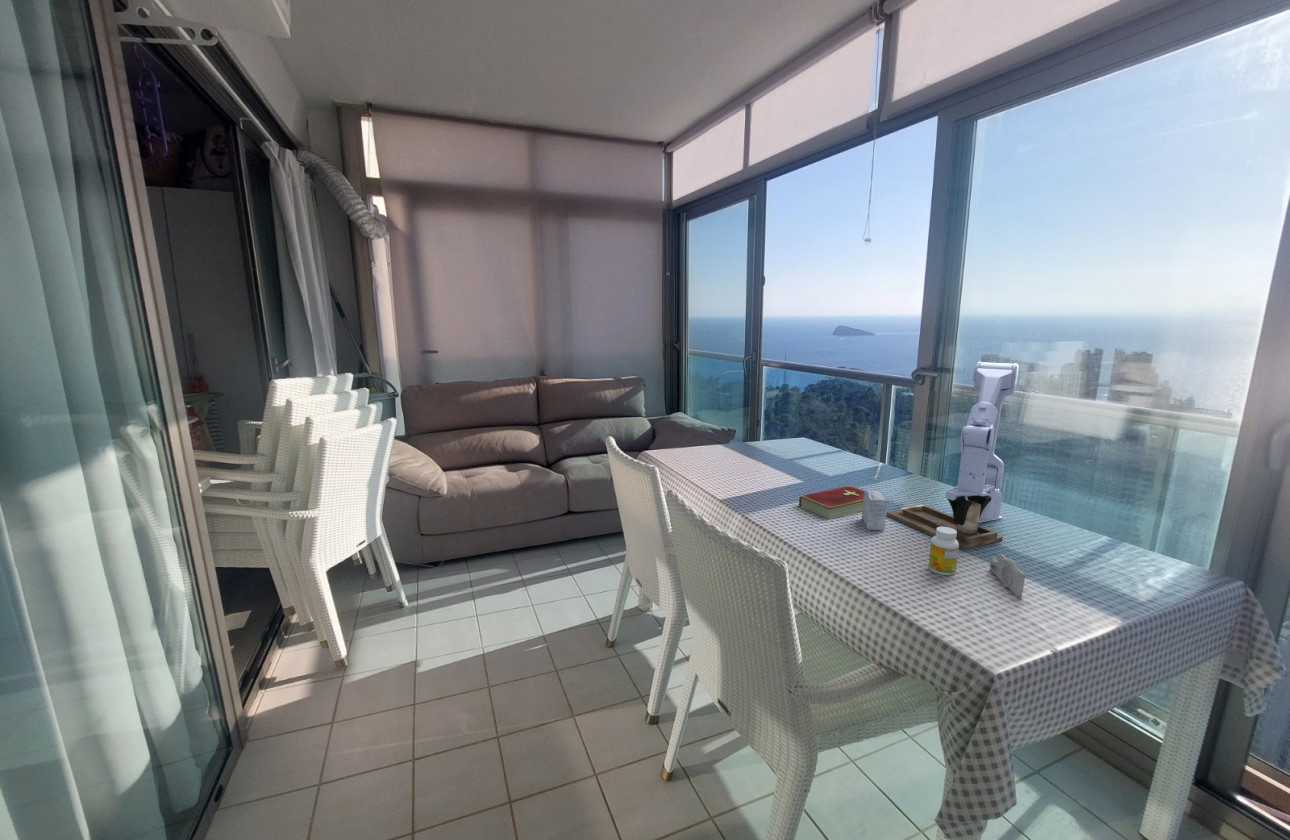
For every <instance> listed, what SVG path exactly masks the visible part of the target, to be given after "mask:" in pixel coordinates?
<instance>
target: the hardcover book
mask: <svg viewBox="0 0 1290 840" xmlns="http://www.w3.org/2000/svg"><path fill="white" fill-rule="evenodd" d="M864 491H865V490H864V489H861V488H859V487H855V486H852V485H845V486H842V487H841V486H840V487H836V488H832V489H826V490H823V491H817V492H813V493H809V494H808V493H807V494H803V495H800V496H799V498H798V500H799V501H798V507H800V508H804V509H806V510H808V511H811V512H812V513H815V514H816V515H818V516H821V517H823V518H826V519H828V520H831V519H835V518H838V517H843V516H848V515H852V514H855V513H859V512H862V509H863V496H864Z"/></svg>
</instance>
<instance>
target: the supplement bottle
mask: <svg viewBox="0 0 1290 840" xmlns="http://www.w3.org/2000/svg"><path fill="white" fill-rule="evenodd" d="M936 535H937V536H932V538H931V540H930V541H931V542H930V550H929V556H928V559H929V560H928V569H930V571H932V572H933V573H935V574H938V575H942V576H952V575H954V574H955V573H956V571H957V565H958V564H957V563H958V556H959V555H958V554H959V549H960V548H959V543H958V541H957V540H956V539H955V538H956V535H957V531H956V530H954V529H952V528H949V527H937V528H936Z"/></svg>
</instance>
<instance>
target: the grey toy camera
mask: <svg viewBox="0 0 1290 840" xmlns="http://www.w3.org/2000/svg"><path fill="white" fill-rule="evenodd" d="M989 559H990V563H989V571H991V572H992V573H993V574H994V575H995V576H996V577H997V578H998V579H999V581H1000V582H1001V583H1002V584H1003V586H1004V587H1005V588H1006V587H1007V588H1008V589H1009V590H1010V592H1012V594H1013V595H1015V596H1016V597H1017V596H1018V597H1022V596H1023V592H1024V585H1025V578H1027V577H1029V575H1028V574H1026V573H1025V572H1024V571H1023V569H1022V568H1021V566H1020V564H1019V563H1018V562H1016V560H1013V559H1012V558H1011V559H1010V558H1008V556H1007V555H1005V554H1003V553H1000V554H998V555H997V557H994V556H993V557H990V558H989Z"/></svg>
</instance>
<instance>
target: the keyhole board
mask: <svg viewBox="0 0 1290 840" xmlns="http://www.w3.org/2000/svg"><path fill="white" fill-rule="evenodd" d="M886 516H887V517H889V518H892V519H893V520H896V521H899V522H901V523H903V524H905V525H908V526H909V527H911V528H913V529H914V528H915V529H916V530H918V531H921V532H923V533H924V534H928V535H930V536H931V537H934V536H937V535H936V528H937V527H949V528H952V529H954V530H956V531H957V523H955V521H954V515H951V514H948V513H945V512H943V511H940V510H938V509H936V508H933V507H931V506H928V505H925V504H923V503H922V504H916V505H911V506H906V507H905V506H904V507H900V508H899V509H896V510H891V511H886ZM955 539H956V540H957V541H958V543H959V549H961V550H965V549H966V550H967V549H972V548H975V547H980V546H984V545H989V544H994V543H998V542H1002V541H1003V536H1000V535H998V532H997V531H994V530H992V529H989V528H986V527H983V526H981V525H979V524H978V531H977V535H974V536H966V535H964V534H961V533H959V532H957V535H956V538H955Z"/></svg>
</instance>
